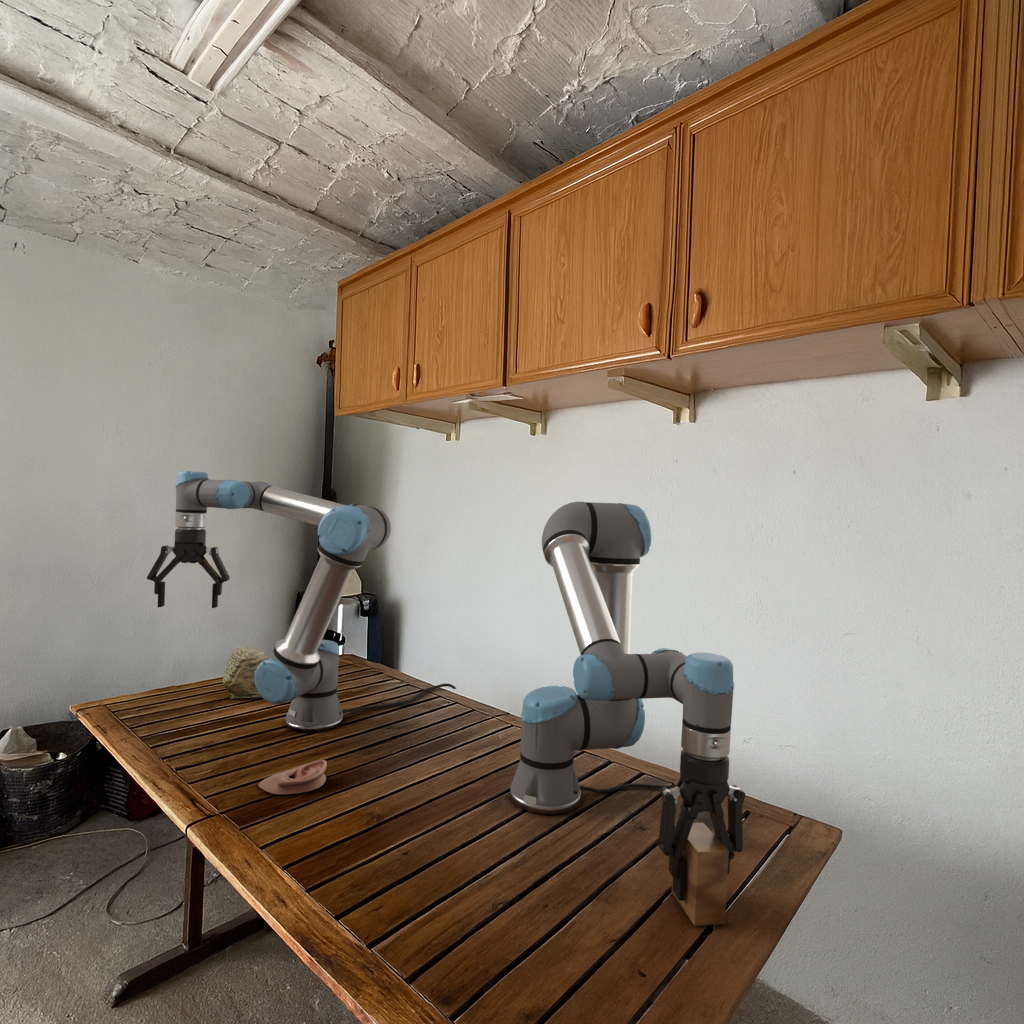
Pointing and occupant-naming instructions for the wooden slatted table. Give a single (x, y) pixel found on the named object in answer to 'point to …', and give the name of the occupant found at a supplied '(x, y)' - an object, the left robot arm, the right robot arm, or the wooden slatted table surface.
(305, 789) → the anatomical model
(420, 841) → the wooden slatted table surface
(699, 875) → the brick
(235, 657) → the fossil
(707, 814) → the light bulb
